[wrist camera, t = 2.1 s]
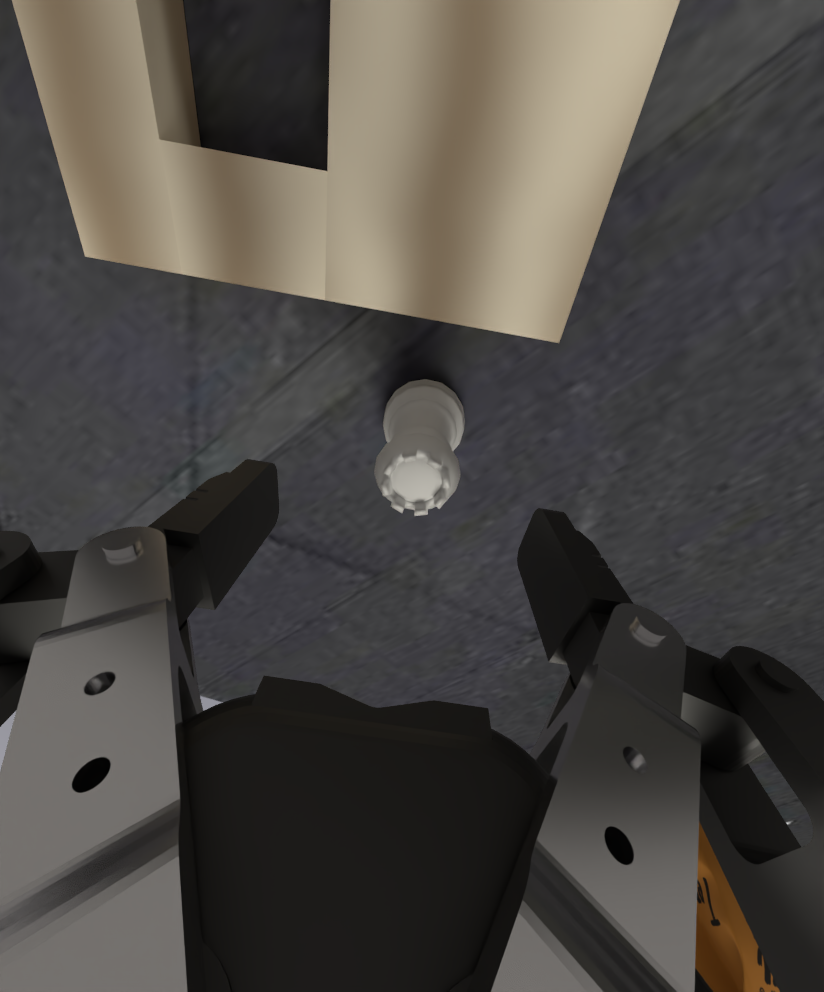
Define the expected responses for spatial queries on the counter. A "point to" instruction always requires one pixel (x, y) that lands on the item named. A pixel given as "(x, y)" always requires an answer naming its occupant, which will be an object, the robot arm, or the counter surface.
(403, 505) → the rook chess piece
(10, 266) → the counter surface
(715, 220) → the counter surface
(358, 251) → the socket block
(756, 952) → the coffee package
